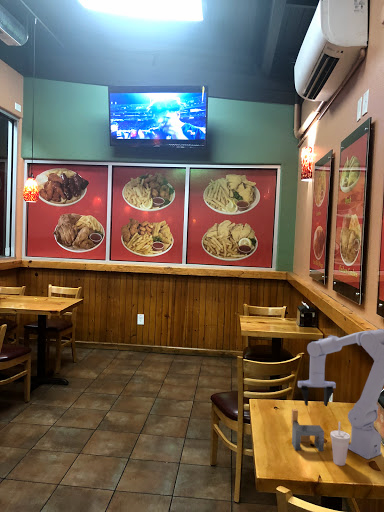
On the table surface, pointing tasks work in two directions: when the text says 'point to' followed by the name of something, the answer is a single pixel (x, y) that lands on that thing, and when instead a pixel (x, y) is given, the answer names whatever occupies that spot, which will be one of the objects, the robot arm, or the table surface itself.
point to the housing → (307, 431)
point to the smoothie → (339, 446)
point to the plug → (295, 422)
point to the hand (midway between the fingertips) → (315, 405)
